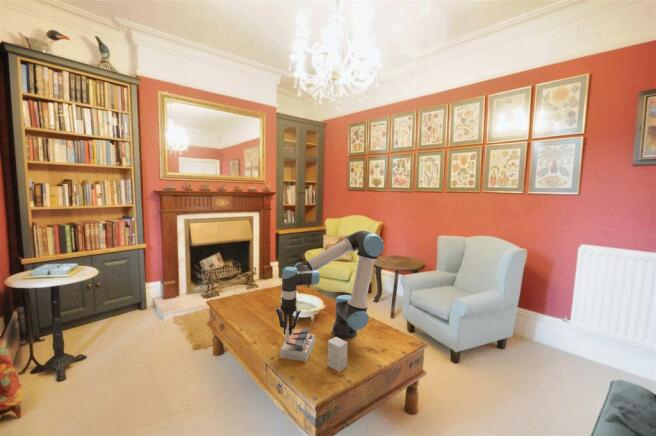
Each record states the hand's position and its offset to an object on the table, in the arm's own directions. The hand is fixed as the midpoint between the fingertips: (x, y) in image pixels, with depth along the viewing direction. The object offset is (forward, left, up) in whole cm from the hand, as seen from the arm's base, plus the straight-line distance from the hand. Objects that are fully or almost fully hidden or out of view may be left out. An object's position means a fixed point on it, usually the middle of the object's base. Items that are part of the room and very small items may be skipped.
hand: (287, 340), depth 153 cm
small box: (-27, +3, -9) cm, 29 cm away
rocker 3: (-4, 0, -2) cm, 5 cm away
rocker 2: (-4, -6, -2) cm, 8 cm away
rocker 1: (-4, -12, -2) cm, 13 cm away
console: (-4, -6, -9) cm, 11 cm away
